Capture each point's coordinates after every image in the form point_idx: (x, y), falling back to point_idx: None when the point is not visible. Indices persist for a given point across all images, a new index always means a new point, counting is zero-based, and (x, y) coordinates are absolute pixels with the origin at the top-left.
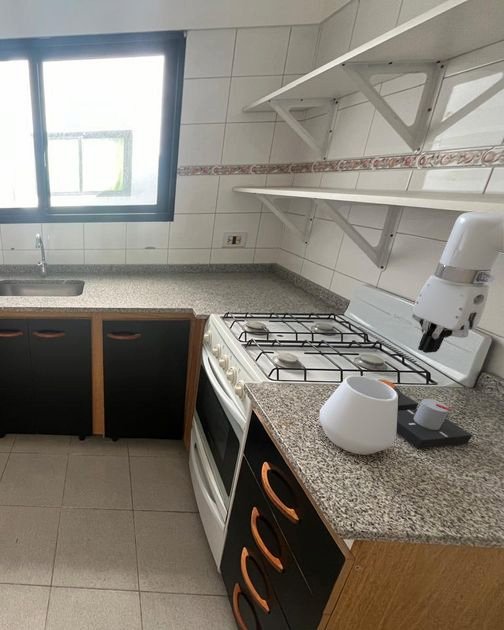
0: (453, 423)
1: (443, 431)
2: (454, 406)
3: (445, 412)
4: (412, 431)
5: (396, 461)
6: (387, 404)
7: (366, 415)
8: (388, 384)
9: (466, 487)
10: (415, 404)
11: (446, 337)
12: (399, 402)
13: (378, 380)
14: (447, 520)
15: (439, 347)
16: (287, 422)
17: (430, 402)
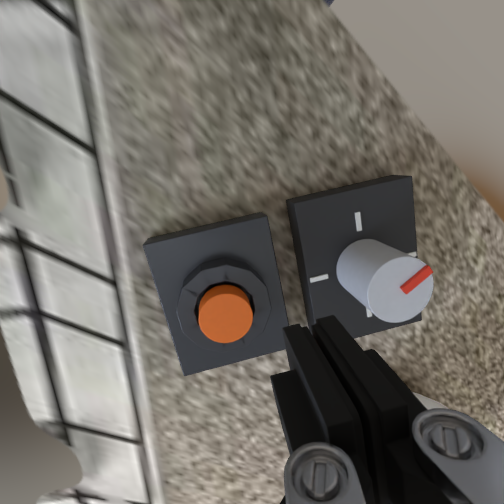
0: (365, 188)
1: (395, 245)
2: (225, 52)
3: (431, 282)
4: (393, 324)
5: (432, 370)
6: None
7: None
8: (231, 314)
9: (499, 285)
10: (268, 225)
11: (458, 420)
12: (265, 272)
13: (207, 333)
14: None
15: (383, 361)
16: None
17: (387, 297)
